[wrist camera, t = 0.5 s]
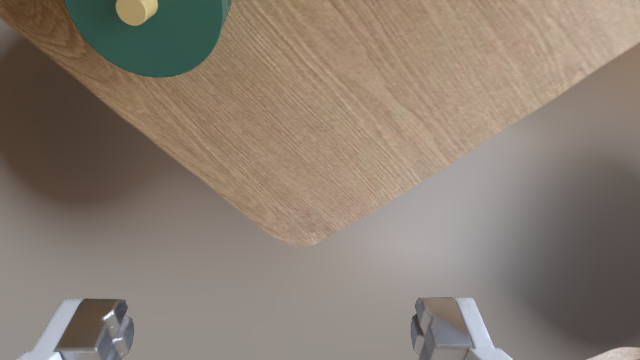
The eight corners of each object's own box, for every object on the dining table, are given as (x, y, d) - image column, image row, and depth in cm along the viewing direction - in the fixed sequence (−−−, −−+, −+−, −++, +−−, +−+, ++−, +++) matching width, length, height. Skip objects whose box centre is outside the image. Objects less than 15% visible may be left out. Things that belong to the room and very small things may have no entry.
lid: (46, -98, 36) (14, -98, 32) (220, -84, 37) (210, -82, 33) (87, 69, 44) (65, 86, 40) (228, 77, 45) (221, 94, 41)
